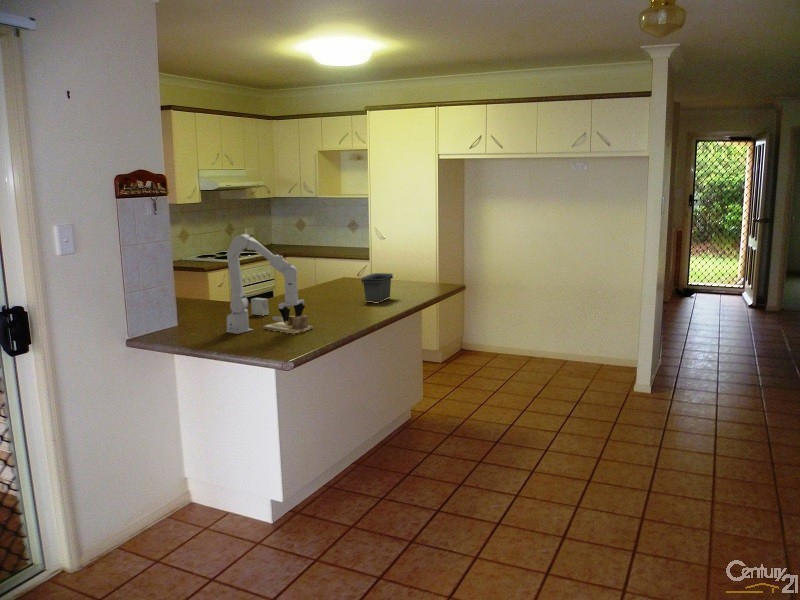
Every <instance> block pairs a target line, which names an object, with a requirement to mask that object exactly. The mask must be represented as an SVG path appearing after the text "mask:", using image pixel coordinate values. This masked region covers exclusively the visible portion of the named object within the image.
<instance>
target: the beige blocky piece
mask: <svg viewBox="0 0 800 600" xmlns="http://www.w3.org/2000/svg"><path fill="white" fill-rule="evenodd" d="M264 329H267V330H266V331H270V330H273V331H272V332H276V331H280V332H279V333H282V332H287V333H286V334H288V333H294V334H293V335H296V334H295V333H298V332H302V331H306V330H309V331H311V330H310V329H313V330H314V326H313V325H309V316H308V315H303V314H302V315H301V316H298V317H294V318H292V328H290V327H289V326H286V325H285V323H284V322H281V321H277V322H274V323H270V324H266V325H263V326H262V330H264ZM306 332H307V331H306ZM302 333H303V332H302ZM298 334H299V333H298Z"/></svg>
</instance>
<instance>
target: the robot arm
mask: <svg viewBox="0 0 800 600" xmlns="http://www.w3.org/2000/svg"><path fill="white" fill-rule="evenodd" d="M245 249H246V250H248V251H249V250H251V251H255V252H257V253H258V254H259V255H260V256H262V257H264V258H265V260H268V261H269V265H270V266H271V267H272V268H274V270H277V271H278V272H279V273H280V274H282V275H283V277H284V300H285V301H284V302H281V303H278V312H279V313H280V314H281V317H283V320H284V323H285V321H288V320H289V316H290V311H291V308H289V307H293V308H294V315H301V316H302V315H303V311H304V309H305V307H306V305H305V299H302V298H301V299H299V293H298V292H299V291H298V277H297V276H298V272H299V271H298V268H297V267H296V265H294V264H292V263H291V262H288V261H287V260H286V259H284V256H283V255H280V254H274V253H272V252H271V251H270V250H269V249H268V248H266V246H264V245H262V244H261V243H260V242H259V241H258V240H256V239H255V238H254V237H252V236H251V235H249V234H247V233H242V234H240V235H235V237H234V238H233V239H232V240H231V241H230V245H229V247H228V249H227V251H226V257H227V265H228V272H229V279H230V286H231V295H230V298H231V300H230V304H229V307H230V310H231V313H230V314H228V315H226V333H230V334H236V335H238V334H242V333H247V332H250V331H253V330H254V329H253V328H251V327H250V326H249V325H250V324H249V323H250V322H249V309H248V308H247V307H248V306H249V299H248V298H247V297H246V293H245V290H244V286H243V285H244V284H243V279H242V270H241V263H240V255H241V253H243V252H244V250H245Z"/></svg>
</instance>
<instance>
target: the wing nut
mask: <svg viewBox="0 0 800 600" xmlns="http://www.w3.org/2000/svg"><path fill="white" fill-rule="evenodd" d="M298 316H302V315H295V314H294V315H289V320H288V321H285V325H286V326H289V327H290V328H292V318H294V317H298Z"/></svg>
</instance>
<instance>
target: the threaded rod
mask: <svg viewBox="0 0 800 600" xmlns="http://www.w3.org/2000/svg"><path fill="white" fill-rule="evenodd" d="M271 319H272V321H275V322H284V320H283V317H282V316H277V315H273V316H272V317H271Z"/></svg>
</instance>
